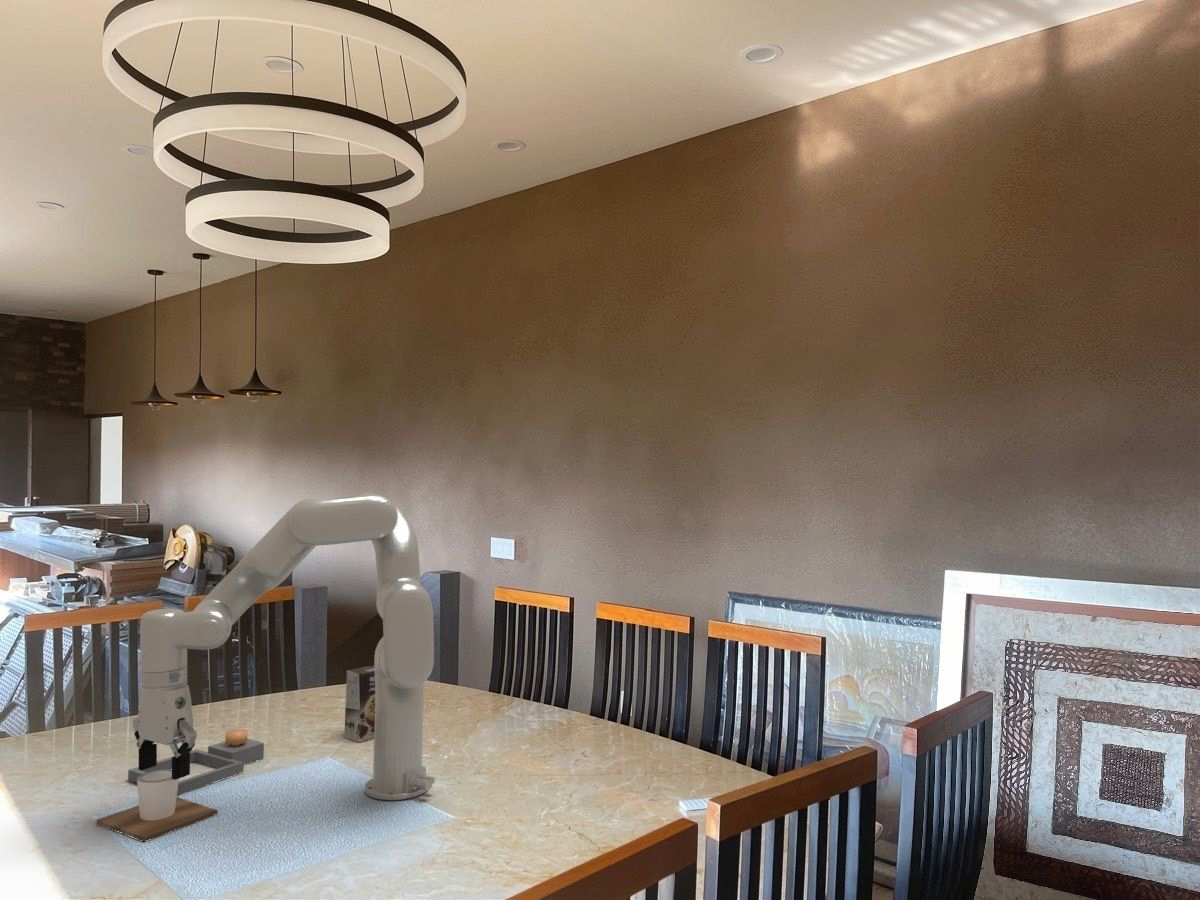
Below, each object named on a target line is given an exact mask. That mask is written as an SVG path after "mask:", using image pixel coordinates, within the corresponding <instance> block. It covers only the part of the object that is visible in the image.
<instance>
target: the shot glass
mask: <svg viewBox="0 0 1200 900" xmlns="http://www.w3.org/2000/svg"><path fill="white" fill-rule="evenodd" d="M179 781H180V778H179V779H176V780H174V779H172V770H156V771H151V772H147V773H144V774H142V775H140V776H139V777H138V778H137V782H138V784H137V795H138V805H139V812H140V819H143V820H148V821H151V820H160V819H164V818H167V817H169V816H171V815H173V814H174V812H175V806H176V798H177V797H178V796H177V790H178V783H179Z"/></svg>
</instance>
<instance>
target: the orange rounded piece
mask: <svg viewBox="0 0 1200 900" xmlns="http://www.w3.org/2000/svg"><path fill="white" fill-rule="evenodd" d="M247 739H248V730H247V729H245V728H235V729H230V730H227V731H226V732H225V739H224V741H225V743H226V744H231V745H232V746H233V747H237V746H240V744H242V743H245V742H247Z"/></svg>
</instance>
